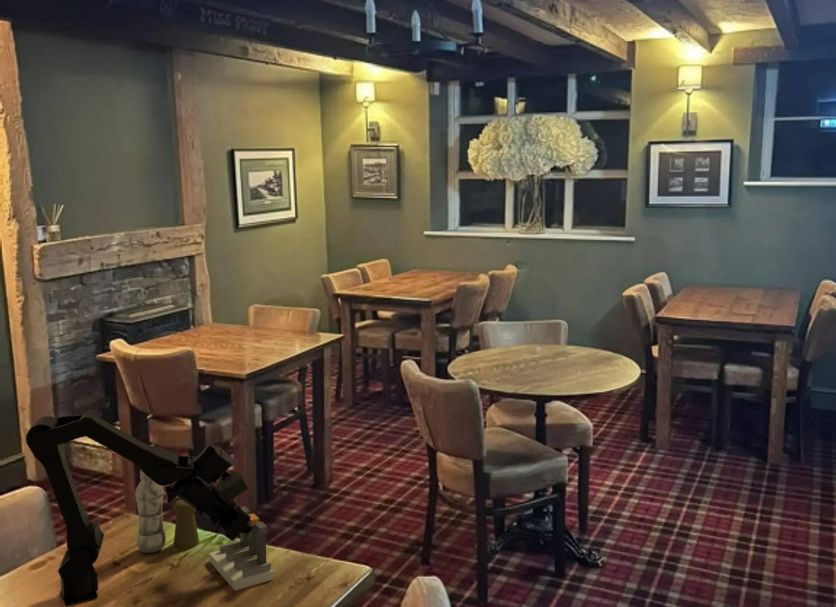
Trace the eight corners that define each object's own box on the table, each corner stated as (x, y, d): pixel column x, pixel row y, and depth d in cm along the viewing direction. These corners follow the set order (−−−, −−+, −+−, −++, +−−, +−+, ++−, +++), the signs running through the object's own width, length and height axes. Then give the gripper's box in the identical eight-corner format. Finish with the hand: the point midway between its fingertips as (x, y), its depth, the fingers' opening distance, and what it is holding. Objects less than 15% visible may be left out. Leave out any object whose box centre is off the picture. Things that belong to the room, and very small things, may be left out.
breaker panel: (234, 590, 173) (234, 575, 172) (209, 561, 186) (209, 547, 186) (273, 579, 178) (273, 564, 177) (246, 551, 191) (245, 537, 190)
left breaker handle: (243, 552, 186) (242, 512, 184) (238, 547, 188) (237, 507, 187) (251, 550, 187) (250, 510, 185) (245, 545, 189) (244, 506, 188)
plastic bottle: (131, 554, 189) (127, 473, 186) (149, 542, 196) (145, 463, 193) (155, 558, 187) (151, 476, 184) (172, 545, 194) (168, 466, 191)
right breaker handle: (260, 569, 177) (259, 528, 176) (255, 564, 180) (254, 523, 178) (268, 567, 178) (267, 526, 177) (262, 562, 181) (261, 521, 179)
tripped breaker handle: (252, 560, 182) (251, 520, 180) (247, 555, 184) (246, 515, 183) (260, 558, 183) (259, 518, 181) (254, 553, 185) (253, 513, 184)
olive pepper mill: (203, 538, 198) (201, 496, 196) (193, 549, 192) (192, 506, 190) (179, 537, 198) (177, 495, 197) (169, 548, 192) (167, 505, 191)
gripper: (239, 478, 169) (289, 515, 176) (209, 453, 184) (256, 488, 192) (204, 522, 166) (256, 558, 173) (177, 493, 181) (226, 527, 189)
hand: (249, 531), depth 182 cm, fingers closed, pressing on tripped breaker handle
